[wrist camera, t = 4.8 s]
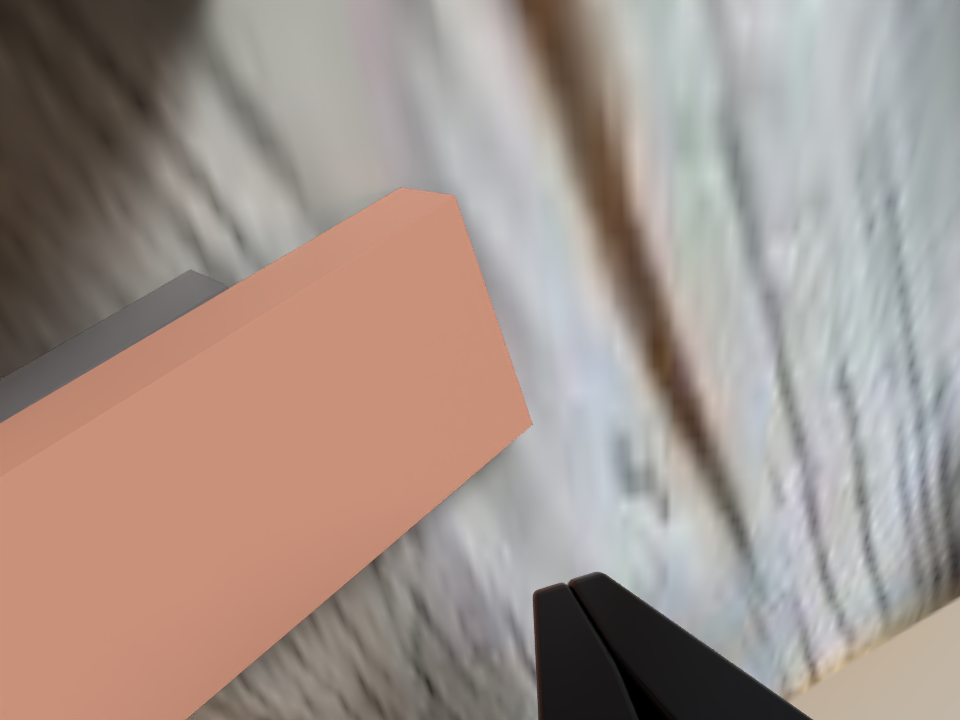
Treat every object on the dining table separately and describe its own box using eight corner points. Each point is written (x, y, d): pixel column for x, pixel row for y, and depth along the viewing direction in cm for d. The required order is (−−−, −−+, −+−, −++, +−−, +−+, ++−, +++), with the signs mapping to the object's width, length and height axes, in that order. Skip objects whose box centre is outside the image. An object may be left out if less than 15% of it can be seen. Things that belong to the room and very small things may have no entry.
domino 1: (226, 285, 12) (-604, 784, 8) (348, 502, 15) (-221, 966, 10) (190, 269, 13) (-550, 697, 9) (309, 473, 16) (-217, 880, 12)
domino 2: (455, 195, 13) (-224, 616, 8) (532, 424, 15) (50, 834, 11) (400, 187, 14) (-216, 550, 9) (481, 401, 16) (28, 762, 12)
